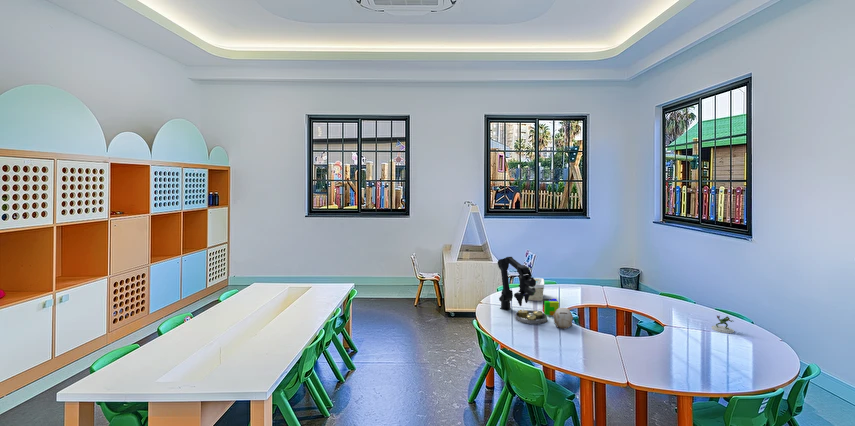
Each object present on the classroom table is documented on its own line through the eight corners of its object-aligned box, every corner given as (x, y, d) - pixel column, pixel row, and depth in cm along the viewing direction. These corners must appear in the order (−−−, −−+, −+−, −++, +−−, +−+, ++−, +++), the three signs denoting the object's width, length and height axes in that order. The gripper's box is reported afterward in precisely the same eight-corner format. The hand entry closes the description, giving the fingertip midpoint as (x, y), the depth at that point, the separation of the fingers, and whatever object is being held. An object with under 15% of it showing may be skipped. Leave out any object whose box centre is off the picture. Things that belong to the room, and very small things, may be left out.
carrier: (509, 319, 282) (509, 313, 281) (524, 311, 298) (524, 305, 298) (538, 326, 267) (538, 319, 267) (551, 318, 284) (551, 311, 284)
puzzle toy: (555, 311, 299) (556, 298, 298) (558, 315, 289) (559, 302, 288) (542, 311, 300) (542, 298, 299) (545, 315, 290) (545, 302, 289)
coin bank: (564, 319, 281) (565, 302, 278) (580, 330, 264) (581, 312, 262) (545, 322, 276) (546, 305, 273) (560, 334, 260) (561, 315, 257)
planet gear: (516, 316, 286) (516, 311, 286) (521, 313, 292) (521, 308, 292) (525, 318, 282) (525, 313, 281) (530, 315, 287) (530, 310, 287)
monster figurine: (724, 334, 251) (725, 318, 250) (707, 327, 262) (707, 312, 261) (738, 332, 254) (739, 317, 253) (720, 325, 265) (721, 311, 265)
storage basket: (525, 292, 350) (525, 276, 349) (544, 294, 345) (544, 277, 344) (524, 300, 327) (524, 283, 326) (544, 302, 322) (544, 284, 321)
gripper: (527, 288, 272) (527, 309, 274) (539, 282, 286) (539, 303, 288) (513, 285, 280) (513, 306, 281) (525, 280, 294) (525, 300, 295)
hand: (523, 304), depth 286 cm, fingers open, 9 cm apart
